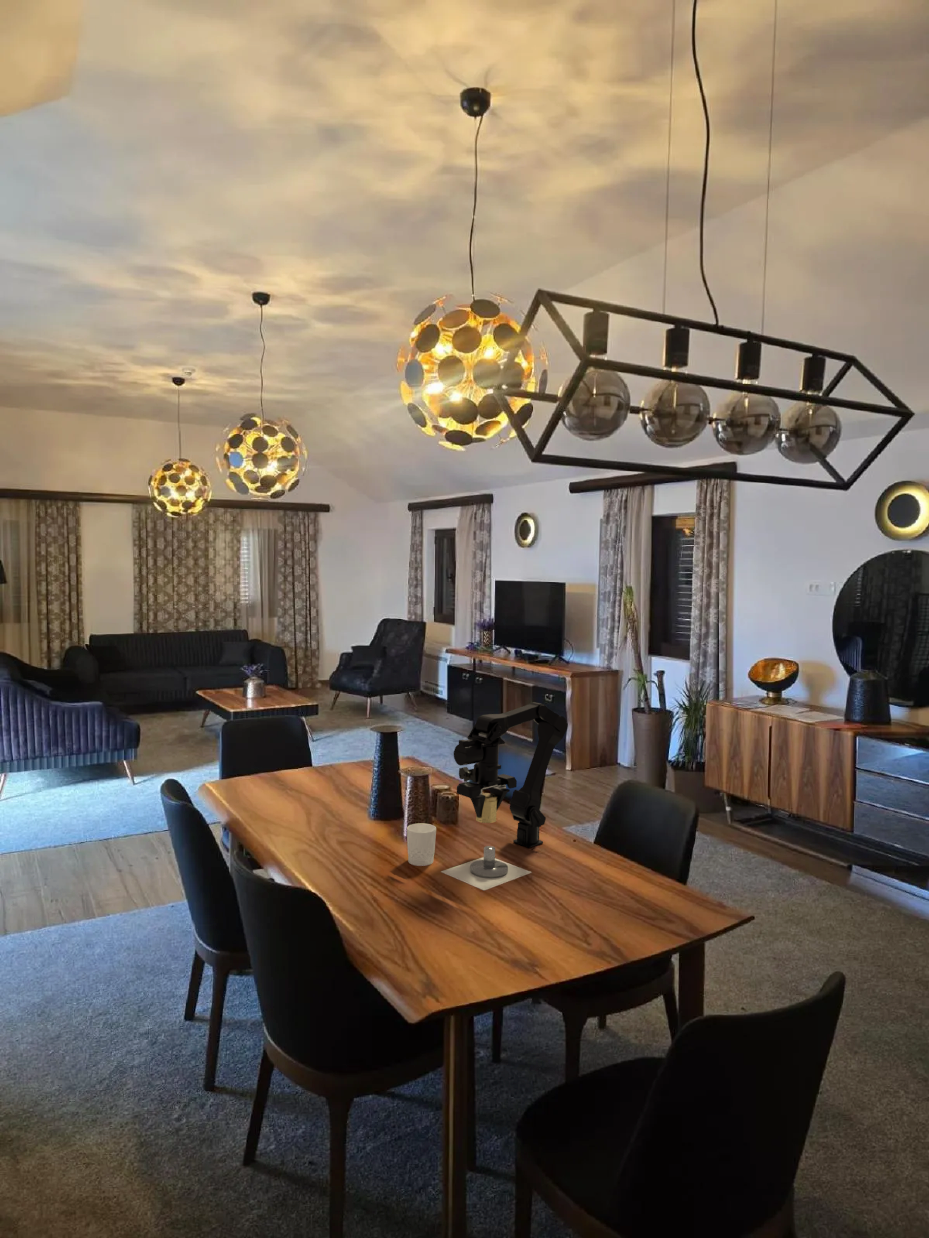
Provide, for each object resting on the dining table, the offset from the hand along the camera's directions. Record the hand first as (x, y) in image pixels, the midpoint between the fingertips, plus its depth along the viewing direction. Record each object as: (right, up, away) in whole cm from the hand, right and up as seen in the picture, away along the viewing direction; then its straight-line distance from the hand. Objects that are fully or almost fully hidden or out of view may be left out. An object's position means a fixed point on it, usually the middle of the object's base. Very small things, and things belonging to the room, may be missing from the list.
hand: (486, 815), depth 220 cm
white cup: (-18, -11, -8) cm, 23 cm away
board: (0, -12, -14) cm, 19 cm away
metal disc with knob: (0, -11, -14) cm, 18 cm away
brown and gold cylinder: (0, -1, 0) cm, 1 cm away
